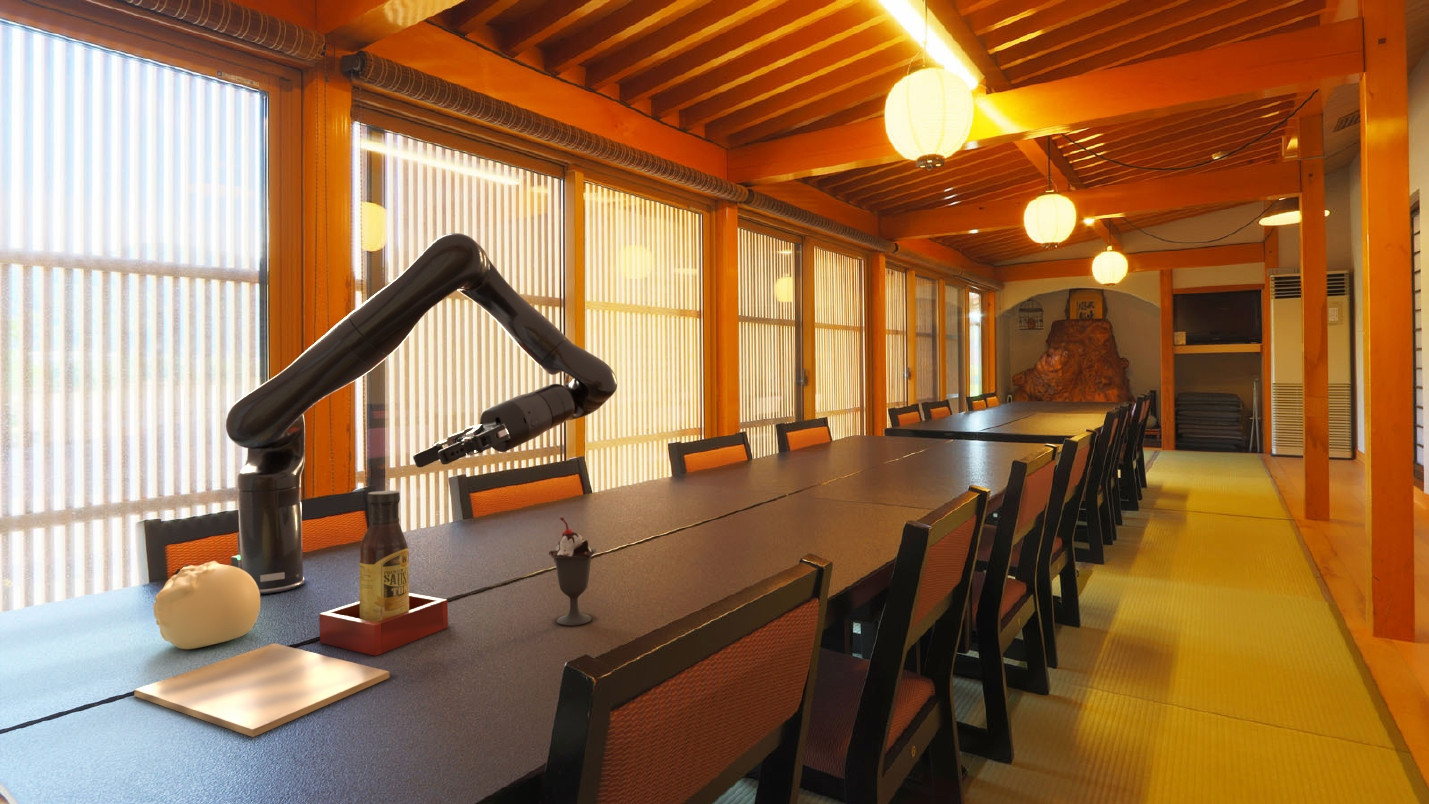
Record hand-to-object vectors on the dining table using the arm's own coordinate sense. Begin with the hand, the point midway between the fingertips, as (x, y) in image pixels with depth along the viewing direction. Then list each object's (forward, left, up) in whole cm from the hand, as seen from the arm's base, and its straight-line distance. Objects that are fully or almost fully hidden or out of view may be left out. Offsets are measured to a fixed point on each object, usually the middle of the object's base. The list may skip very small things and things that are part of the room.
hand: (427, 460), depth 110 cm
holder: (+1, -9, -23) cm, 25 cm away
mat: (+3, -27, -23) cm, 36 cm away
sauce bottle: (+1, -9, -24) cm, 25 cm away
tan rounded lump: (-19, -21, -24) cm, 37 cm away
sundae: (+21, +7, -24) cm, 32 cm away
